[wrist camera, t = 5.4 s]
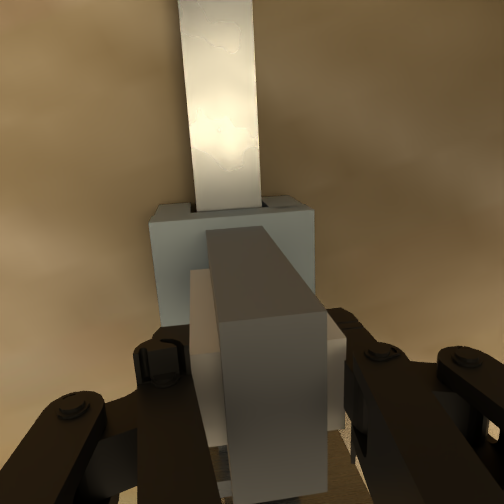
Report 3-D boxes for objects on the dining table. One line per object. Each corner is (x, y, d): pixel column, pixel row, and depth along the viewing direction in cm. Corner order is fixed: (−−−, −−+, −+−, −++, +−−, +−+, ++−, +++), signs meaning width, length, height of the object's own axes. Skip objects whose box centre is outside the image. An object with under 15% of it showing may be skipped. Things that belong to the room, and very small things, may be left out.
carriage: (290, 195, 22) (426, 280, 9) (293, 299, 24) (412, 493, 11) (157, 204, 21) (104, 312, 9) (169, 312, 23) (141, 538, 10)
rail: (259, -83, 19) (283, -157, 14) (280, 422, 26) (299, 485, 22) (147, -84, 18) (131, -161, 13) (200, 432, 26) (203, 500, 21)
